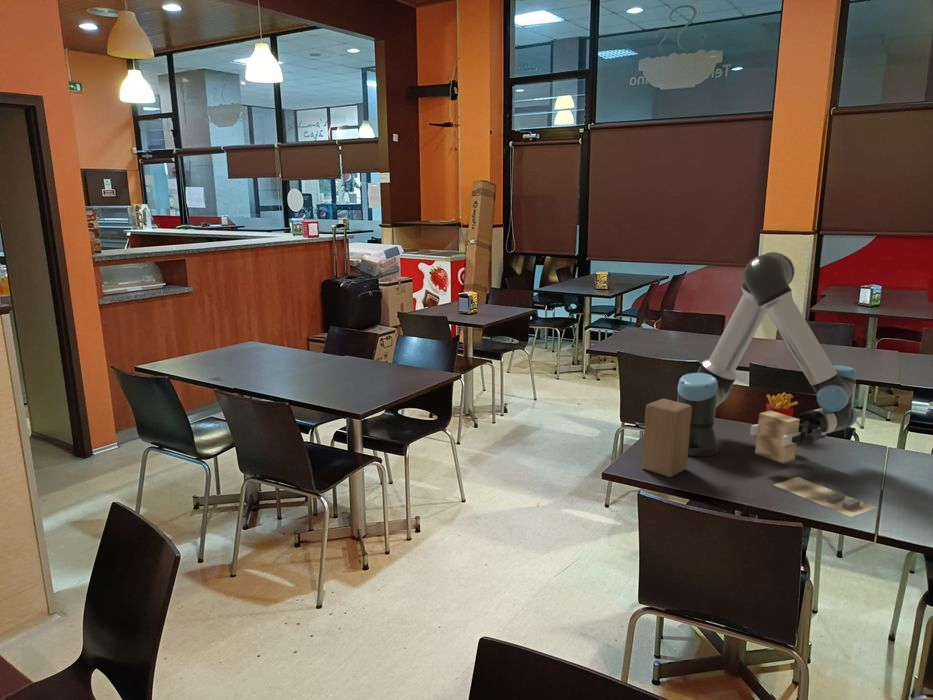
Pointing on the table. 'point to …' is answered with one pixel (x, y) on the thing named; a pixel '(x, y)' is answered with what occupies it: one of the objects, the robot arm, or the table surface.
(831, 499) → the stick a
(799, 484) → the board
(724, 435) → the table surface
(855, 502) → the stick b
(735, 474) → the table surface
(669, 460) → the block
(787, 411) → the french fries
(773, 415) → the block
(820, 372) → the robot arm
